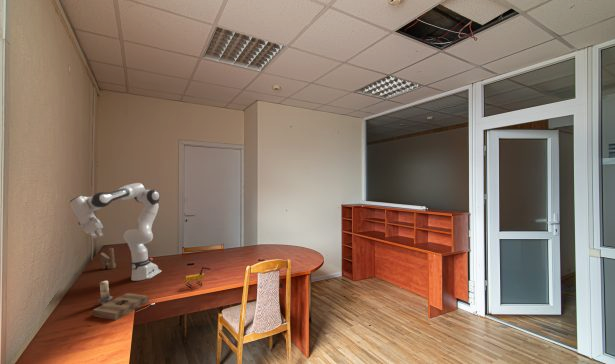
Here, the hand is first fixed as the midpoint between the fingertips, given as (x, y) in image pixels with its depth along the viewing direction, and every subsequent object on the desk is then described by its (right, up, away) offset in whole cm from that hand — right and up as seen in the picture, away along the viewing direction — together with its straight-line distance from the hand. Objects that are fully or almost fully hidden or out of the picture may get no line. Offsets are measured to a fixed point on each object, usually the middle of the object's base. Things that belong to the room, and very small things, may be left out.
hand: (98, 236), depth 188 cm
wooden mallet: (-35, -40, +59) cm, 79 cm away
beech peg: (+12, -42, -9) cm, 44 cm away
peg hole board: (+27, -42, -16) cm, 52 cm away
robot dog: (+63, -39, +13) cm, 75 cm away
